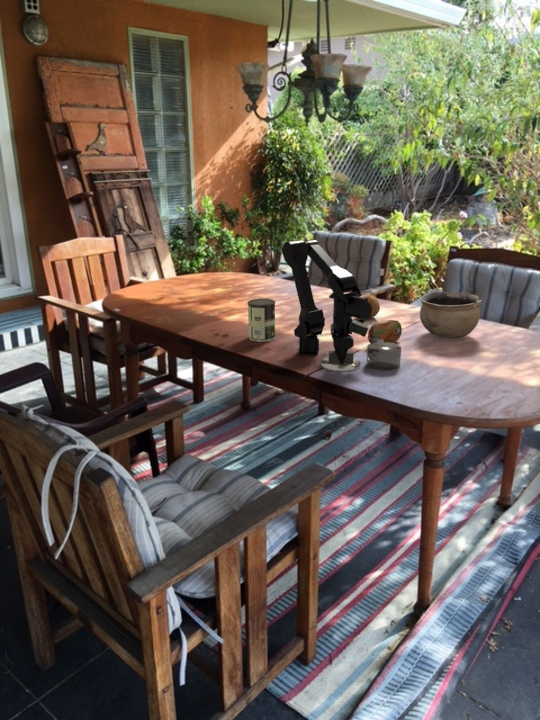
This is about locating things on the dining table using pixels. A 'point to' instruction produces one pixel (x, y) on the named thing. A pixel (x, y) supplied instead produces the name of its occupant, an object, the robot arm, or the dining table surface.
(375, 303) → the onion
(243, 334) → the dining table surface
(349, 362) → the lid
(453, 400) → the dining table surface
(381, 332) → the tin
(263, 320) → the coffee can
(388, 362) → the pot
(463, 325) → the ceramic bowl
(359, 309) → the robot arm
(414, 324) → the dining table surface
